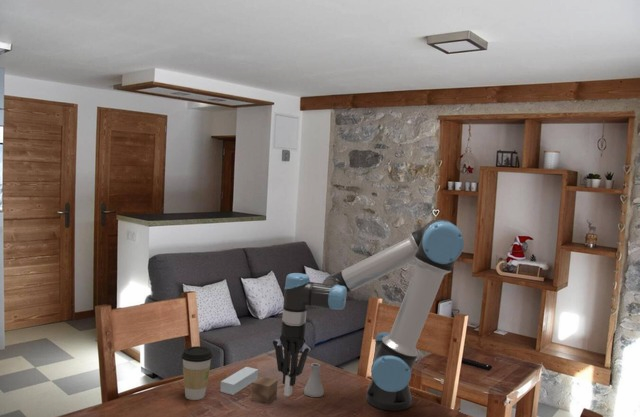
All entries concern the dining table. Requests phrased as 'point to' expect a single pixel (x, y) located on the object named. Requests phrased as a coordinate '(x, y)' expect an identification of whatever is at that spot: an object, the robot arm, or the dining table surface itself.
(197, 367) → the coffee cup
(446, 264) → the robot arm
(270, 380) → the walnut block
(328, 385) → the dining table surface
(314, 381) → the flask
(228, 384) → the white rectangular block
